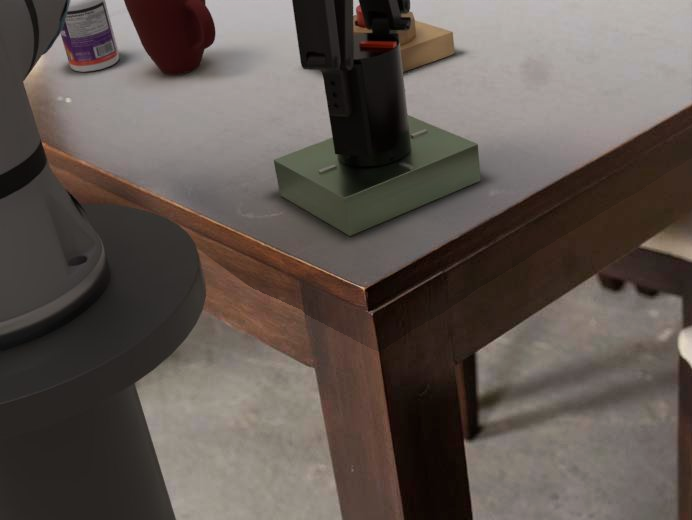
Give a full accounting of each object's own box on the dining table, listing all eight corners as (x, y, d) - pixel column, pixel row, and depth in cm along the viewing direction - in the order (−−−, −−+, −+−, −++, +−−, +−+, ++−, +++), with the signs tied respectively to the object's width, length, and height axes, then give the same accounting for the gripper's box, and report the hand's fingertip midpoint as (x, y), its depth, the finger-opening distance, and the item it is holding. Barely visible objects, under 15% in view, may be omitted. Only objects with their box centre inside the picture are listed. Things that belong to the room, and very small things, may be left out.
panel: (349, 236, 79) (343, 196, 77) (279, 195, 86) (272, 157, 84) (480, 180, 84) (478, 141, 82) (404, 146, 91) (400, 109, 89)
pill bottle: (74, 59, 121) (48, -32, 116) (122, 52, 121) (99, -39, 116) (67, 75, 117) (39, -18, 111) (117, 68, 117) (92, -26, 112)
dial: (324, 164, 82) (307, 54, 78) (357, 134, 86) (342, 28, 82) (392, 169, 80) (378, 56, 75) (422, 138, 84) (411, 29, 79)
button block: (362, 87, 103) (356, 45, 101) (312, 67, 110) (305, 26, 108) (454, 54, 108) (451, 12, 106) (401, 36, 114) (397, -3, 112)
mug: (253, 61, 114) (234, -40, 108) (199, 89, 109) (176, -15, 103) (180, 51, 119) (159, -45, 114) (126, 77, 114) (100, -22, 108)
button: (373, 33, 105) (370, 15, 104) (350, 25, 108) (347, 7, 106) (407, 22, 106) (405, 3, 105) (383, 14, 109) (381, -4, 108)
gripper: (309, -189, 61) (364, 194, 74) (437, -241, 74) (464, 91, 88) (196, -181, 64) (267, 185, 77) (338, -233, 77) (379, 87, 91)
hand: (372, 135), depth 82 cm, fingers closed on dial, 6 cm apart
